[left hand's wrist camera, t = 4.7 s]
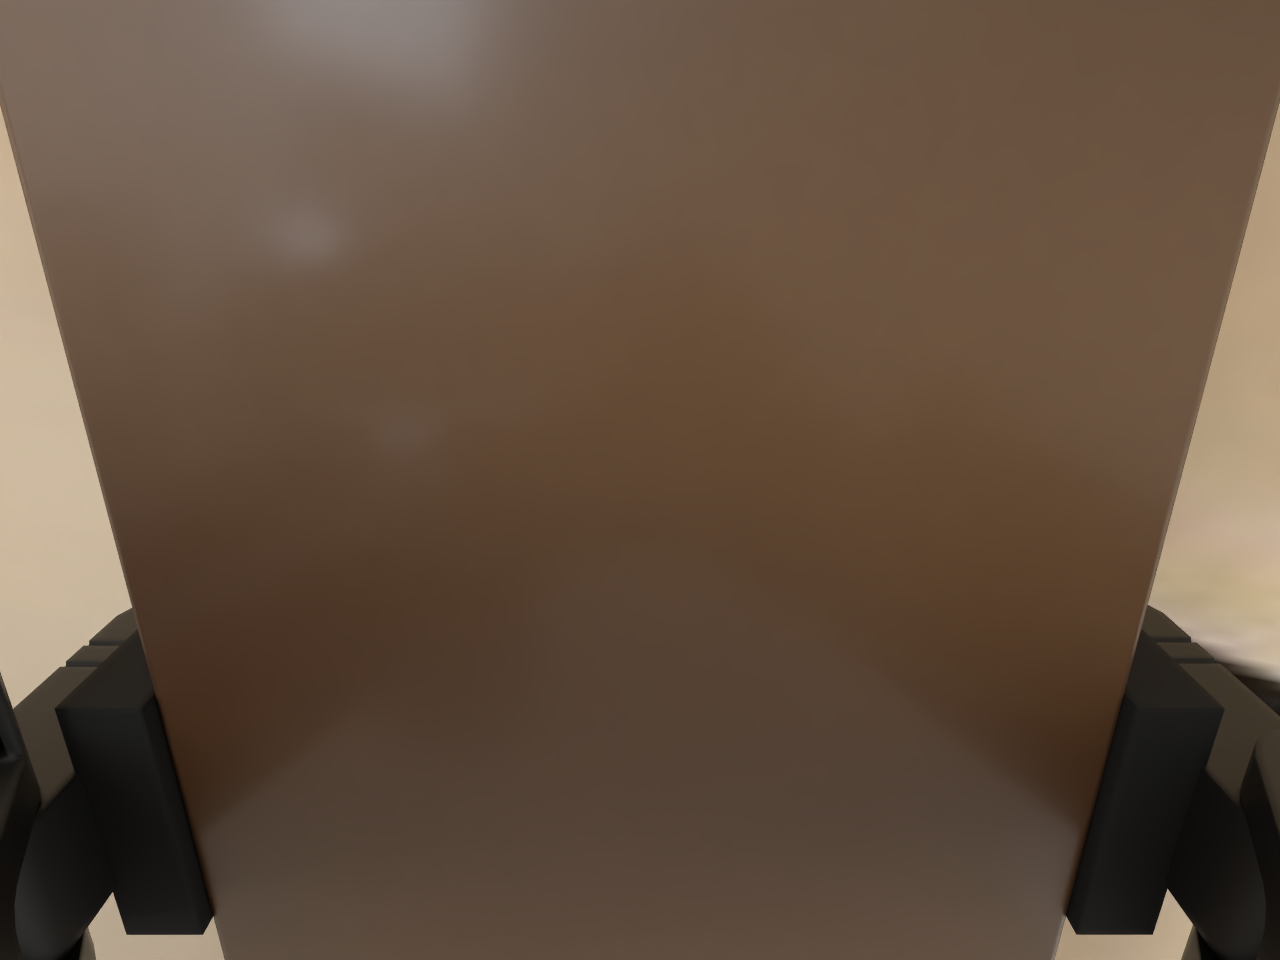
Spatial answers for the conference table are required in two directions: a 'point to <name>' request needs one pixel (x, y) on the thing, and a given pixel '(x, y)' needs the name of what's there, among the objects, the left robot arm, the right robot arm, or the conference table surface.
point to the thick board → (639, 443)
